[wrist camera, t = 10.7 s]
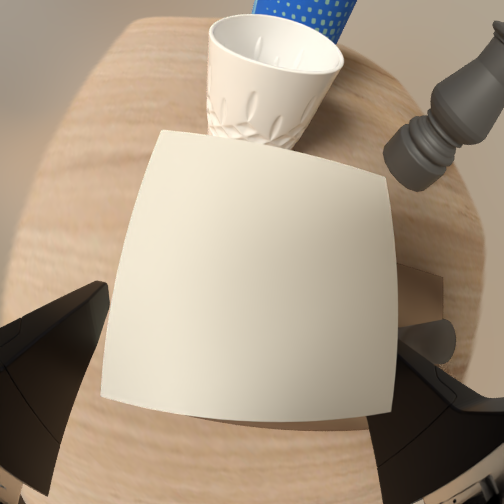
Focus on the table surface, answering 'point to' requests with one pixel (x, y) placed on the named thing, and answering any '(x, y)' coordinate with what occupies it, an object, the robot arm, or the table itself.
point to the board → (409, 313)
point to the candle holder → (450, 119)
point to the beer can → (310, 13)
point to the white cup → (266, 78)
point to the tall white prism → (254, 286)
